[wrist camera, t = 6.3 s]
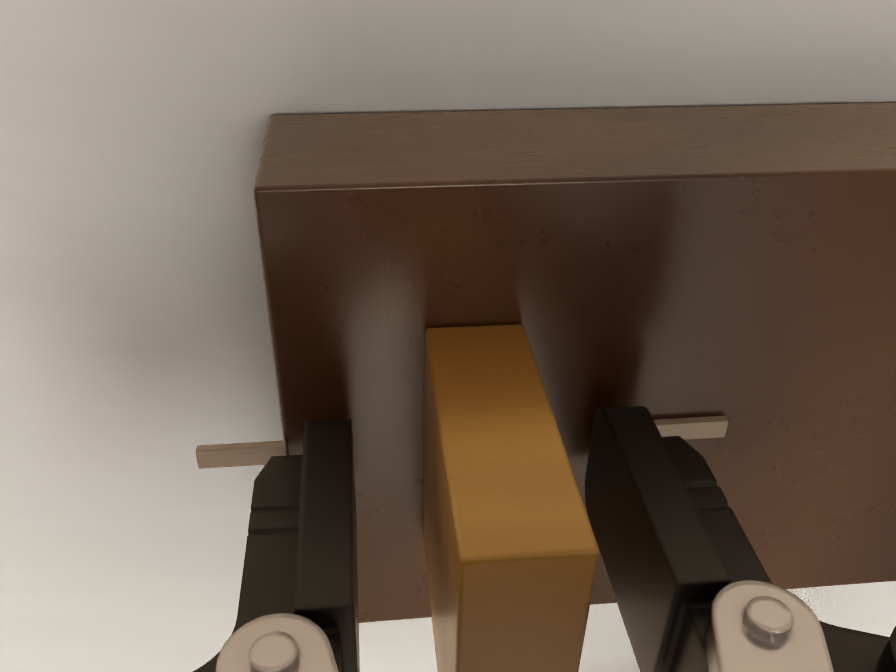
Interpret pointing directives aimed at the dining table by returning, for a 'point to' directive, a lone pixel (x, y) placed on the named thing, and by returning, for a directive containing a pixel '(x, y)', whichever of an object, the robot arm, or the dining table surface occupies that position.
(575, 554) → the lock knob
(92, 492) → the dining table surface
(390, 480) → the plate
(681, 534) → the robot arm
